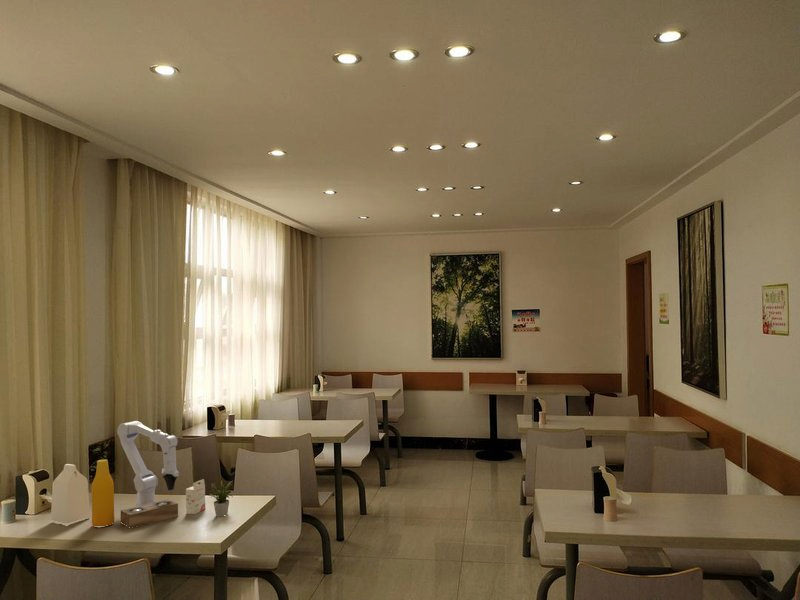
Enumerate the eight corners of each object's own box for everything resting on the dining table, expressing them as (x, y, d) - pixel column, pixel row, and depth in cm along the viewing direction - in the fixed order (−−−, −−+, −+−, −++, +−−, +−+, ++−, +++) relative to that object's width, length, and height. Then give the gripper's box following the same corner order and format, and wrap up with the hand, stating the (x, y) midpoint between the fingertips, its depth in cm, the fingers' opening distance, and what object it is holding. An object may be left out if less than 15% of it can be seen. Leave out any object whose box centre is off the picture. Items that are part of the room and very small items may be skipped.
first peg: (130, 522, 273) (130, 510, 273) (139, 520, 276) (139, 508, 276) (133, 524, 270) (133, 512, 271) (142, 522, 273) (142, 509, 273)
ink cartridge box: (197, 508, 293) (196, 478, 294) (205, 509, 291) (205, 478, 292) (185, 513, 285) (185, 482, 285) (194, 514, 283) (193, 483, 284)
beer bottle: (117, 524, 272) (116, 460, 273) (95, 529, 266) (94, 463, 267) (110, 520, 279) (109, 457, 280) (89, 525, 273) (88, 460, 274)
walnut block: (120, 523, 274) (120, 510, 274) (168, 511, 289) (167, 499, 289) (130, 528, 266) (129, 514, 266) (178, 516, 281) (177, 503, 282)
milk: (50, 523, 278) (50, 466, 279) (74, 515, 288) (73, 461, 289) (66, 526, 272) (66, 468, 273) (90, 518, 282) (89, 462, 284)
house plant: (202, 522, 272) (201, 485, 272) (203, 513, 285) (202, 478, 286) (235, 518, 276) (234, 482, 276) (234, 509, 289) (233, 475, 290)
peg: (156, 515, 282) (156, 504, 282) (165, 513, 285) (164, 502, 285) (160, 517, 279) (160, 505, 279) (168, 515, 282) (168, 503, 282)
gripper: (155, 461, 293) (156, 489, 292) (168, 464, 282) (169, 493, 282) (169, 458, 298) (170, 486, 297) (182, 461, 287) (183, 490, 287)
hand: (170, 489), depth 290 cm, fingers closed
